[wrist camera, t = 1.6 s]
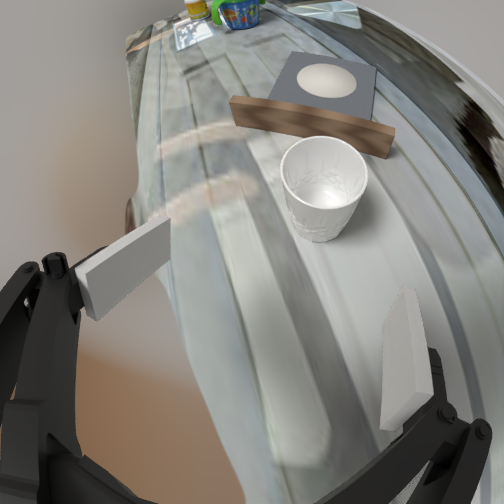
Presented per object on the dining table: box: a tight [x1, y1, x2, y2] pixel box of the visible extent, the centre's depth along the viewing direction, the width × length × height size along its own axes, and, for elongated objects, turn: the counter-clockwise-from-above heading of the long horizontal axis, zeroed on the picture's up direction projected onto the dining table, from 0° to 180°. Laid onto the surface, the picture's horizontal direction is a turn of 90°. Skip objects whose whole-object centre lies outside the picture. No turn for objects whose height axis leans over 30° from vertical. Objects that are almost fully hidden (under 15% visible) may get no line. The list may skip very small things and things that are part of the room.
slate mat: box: [268, 51, 376, 120], centre depth 39 cm, size 16×16×1 cm
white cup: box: [280, 136, 368, 242], centre depth 28 cm, size 8×8×10 cm
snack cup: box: [211, 0, 266, 29], centre depth 46 cm, size 16×10×10 cm
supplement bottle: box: [185, 0, 210, 21], centre depth 51 cm, size 5×5×10 cm
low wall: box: [229, 96, 395, 159], centre depth 34 cm, size 22×2×5 cm, turn 70°
